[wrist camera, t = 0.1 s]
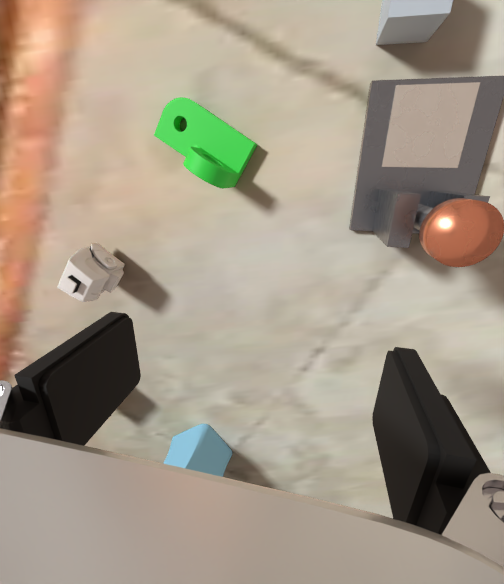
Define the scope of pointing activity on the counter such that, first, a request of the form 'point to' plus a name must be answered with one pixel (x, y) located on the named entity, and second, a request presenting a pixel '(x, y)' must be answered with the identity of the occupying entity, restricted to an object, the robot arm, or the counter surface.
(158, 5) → the counter surface
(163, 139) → the mechanical part
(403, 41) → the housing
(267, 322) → the counter surface
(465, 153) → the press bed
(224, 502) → the robot arm
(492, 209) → the ram
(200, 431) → the vase
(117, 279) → the grey blocky fitting
